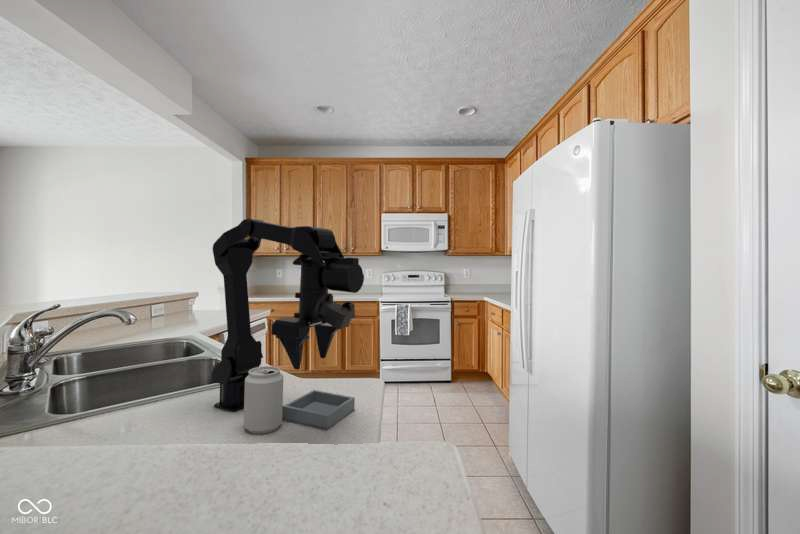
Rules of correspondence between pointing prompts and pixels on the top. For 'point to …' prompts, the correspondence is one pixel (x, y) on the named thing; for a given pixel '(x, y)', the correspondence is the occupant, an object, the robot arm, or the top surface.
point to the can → (263, 399)
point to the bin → (318, 409)
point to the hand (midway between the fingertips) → (310, 363)
